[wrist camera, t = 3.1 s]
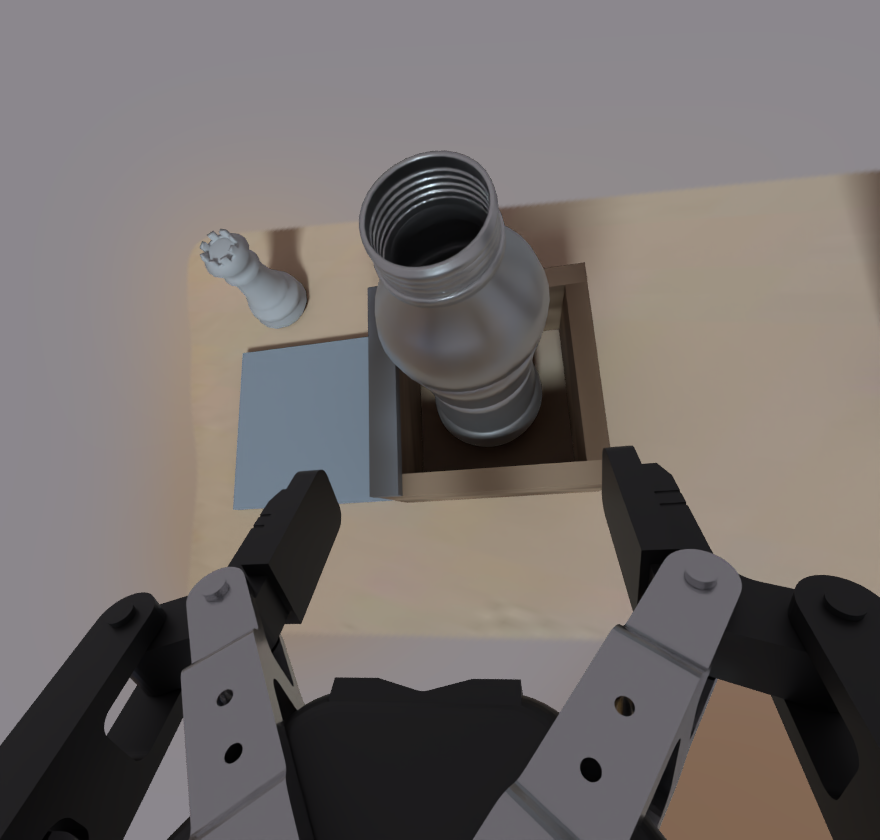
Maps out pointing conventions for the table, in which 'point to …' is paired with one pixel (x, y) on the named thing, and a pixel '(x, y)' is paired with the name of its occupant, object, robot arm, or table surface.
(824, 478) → the table surface
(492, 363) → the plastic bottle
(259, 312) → the rook chess piece
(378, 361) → the holder
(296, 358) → the mat
